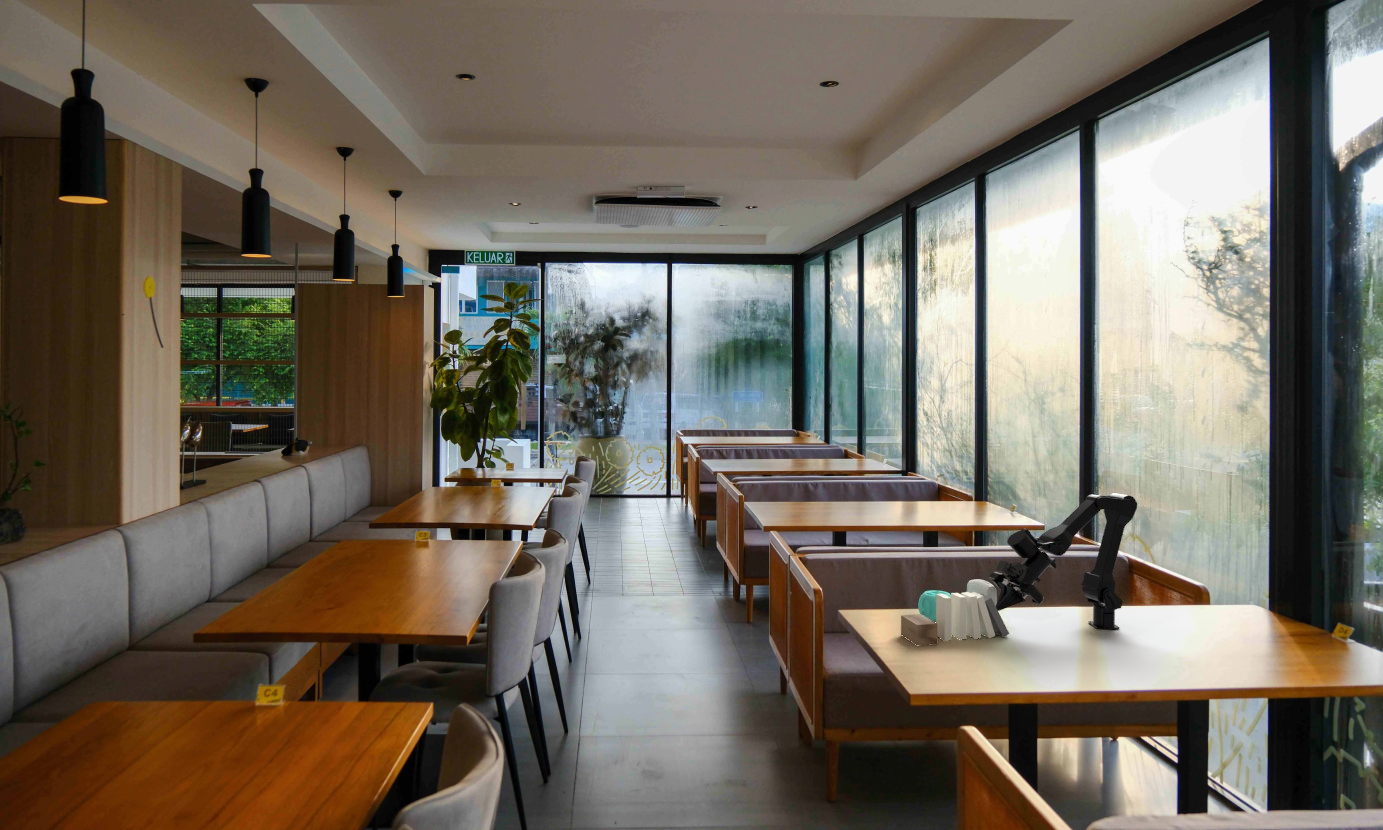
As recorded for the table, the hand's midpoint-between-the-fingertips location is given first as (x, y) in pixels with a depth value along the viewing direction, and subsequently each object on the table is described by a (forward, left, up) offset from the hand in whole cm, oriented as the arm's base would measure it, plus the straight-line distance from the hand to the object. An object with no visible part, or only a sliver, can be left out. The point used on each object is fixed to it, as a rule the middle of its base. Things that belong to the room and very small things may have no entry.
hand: (996, 609), depth 237 cm
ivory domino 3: (+2, -7, -7) cm, 10 cm away
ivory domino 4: (+1, -3, -7) cm, 8 cm away
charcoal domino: (0, +1, -7) cm, 7 cm away
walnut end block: (+6, -23, -7) cm, 25 cm away
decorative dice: (-16, -13, -8) cm, 22 cm away
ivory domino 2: (+3, -11, -7) cm, 14 cm away
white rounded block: (-15, 0, -7) cm, 16 cm away
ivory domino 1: (+4, -16, -7) cm, 18 cm away
